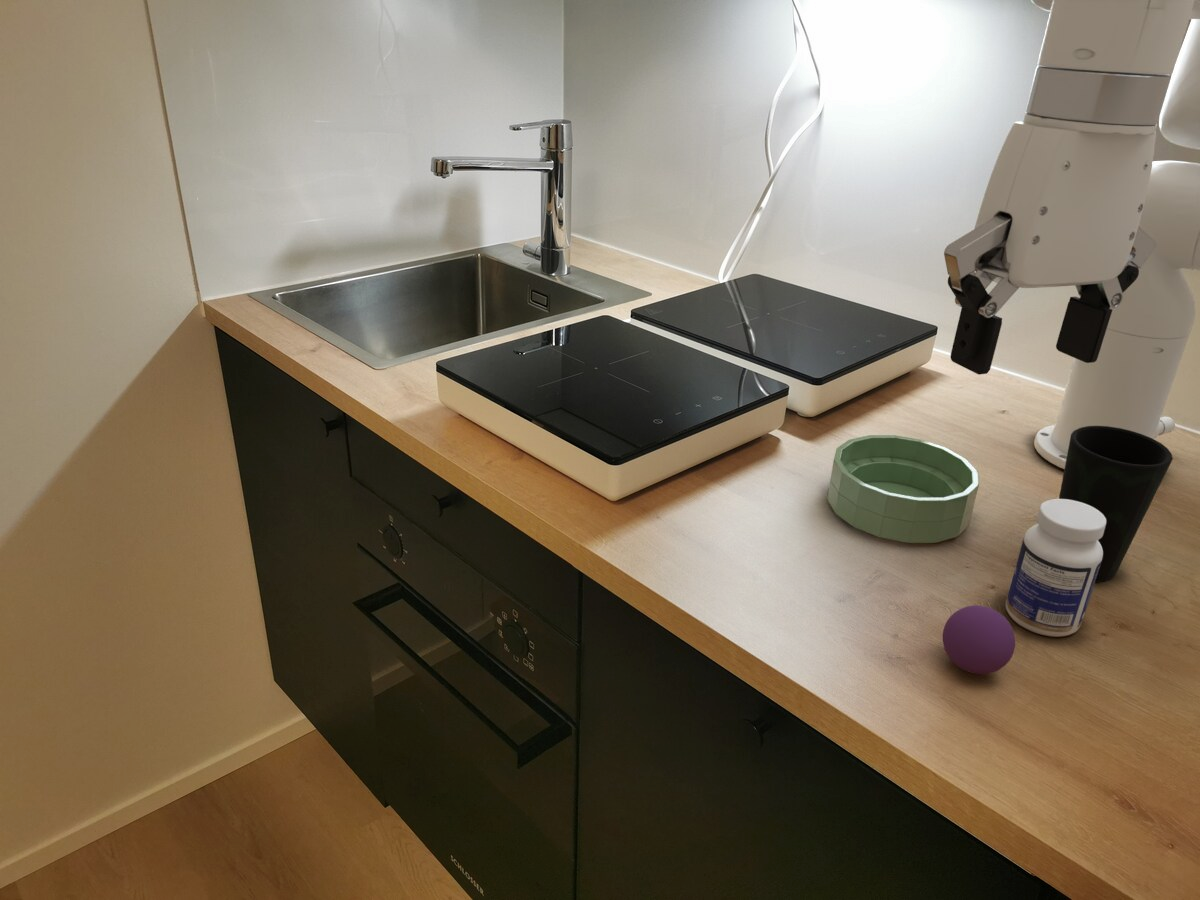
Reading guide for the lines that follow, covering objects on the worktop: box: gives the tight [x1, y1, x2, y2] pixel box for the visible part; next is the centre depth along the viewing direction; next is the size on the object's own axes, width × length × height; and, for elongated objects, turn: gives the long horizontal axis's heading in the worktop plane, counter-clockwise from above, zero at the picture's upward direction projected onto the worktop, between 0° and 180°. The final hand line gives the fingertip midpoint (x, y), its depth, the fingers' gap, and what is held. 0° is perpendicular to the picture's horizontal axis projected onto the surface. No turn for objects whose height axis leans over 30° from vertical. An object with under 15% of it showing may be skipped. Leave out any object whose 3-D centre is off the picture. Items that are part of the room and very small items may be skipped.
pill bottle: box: [1005, 498, 1106, 638], centre depth 72 cm, size 6×6×10 cm
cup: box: [1058, 426, 1174, 583], centre depth 79 cm, size 8×8×12 cm
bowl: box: [826, 434, 980, 544], centre depth 88 cm, size 13×13×5 cm
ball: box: [942, 604, 1016, 675], centre depth 67 cm, size 5×5×5 cm
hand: (1023, 361), depth 64 cm, fingers open, 9 cm apart
